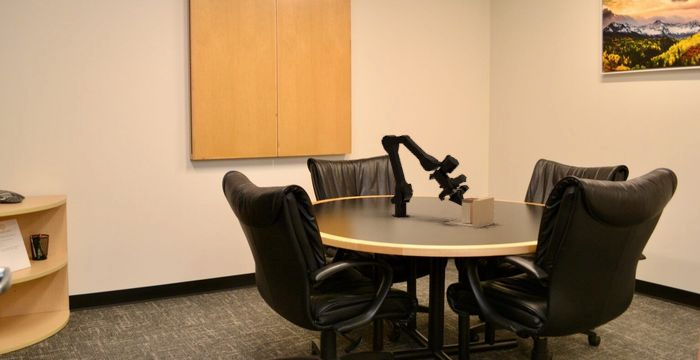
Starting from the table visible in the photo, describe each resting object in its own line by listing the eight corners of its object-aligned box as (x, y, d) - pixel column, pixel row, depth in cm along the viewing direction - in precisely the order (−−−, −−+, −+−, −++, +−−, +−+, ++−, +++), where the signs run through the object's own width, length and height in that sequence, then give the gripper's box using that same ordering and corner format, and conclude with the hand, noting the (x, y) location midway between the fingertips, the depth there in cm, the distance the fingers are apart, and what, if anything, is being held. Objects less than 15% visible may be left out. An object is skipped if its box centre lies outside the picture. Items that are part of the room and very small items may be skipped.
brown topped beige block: (461, 222, 277) (461, 199, 276) (470, 219, 283) (470, 197, 282) (470, 223, 274) (470, 200, 273) (478, 220, 280) (479, 198, 279)
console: (445, 223, 278) (446, 197, 277) (461, 219, 289) (461, 194, 288) (478, 227, 268) (479, 200, 267) (493, 223, 279) (494, 197, 278)
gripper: (444, 169, 274) (467, 197, 268) (465, 167, 288) (487, 192, 282) (428, 187, 279) (450, 213, 273) (450, 183, 294) (471, 208, 288)
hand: (465, 206), depth 279 cm, fingers closed, pressing on brown topped beige block
